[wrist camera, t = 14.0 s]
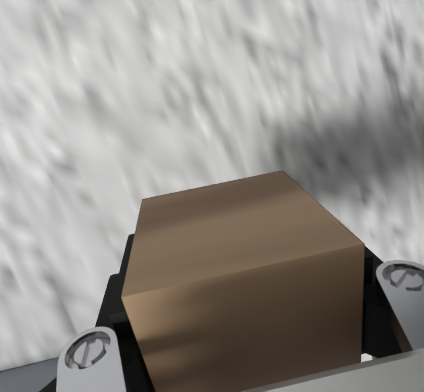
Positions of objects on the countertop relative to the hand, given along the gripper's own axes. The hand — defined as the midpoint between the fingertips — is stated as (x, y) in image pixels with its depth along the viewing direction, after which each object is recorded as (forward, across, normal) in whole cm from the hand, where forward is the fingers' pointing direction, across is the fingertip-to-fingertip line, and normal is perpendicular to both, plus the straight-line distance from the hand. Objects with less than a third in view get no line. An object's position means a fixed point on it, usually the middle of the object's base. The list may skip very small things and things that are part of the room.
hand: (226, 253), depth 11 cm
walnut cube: (+1, 0, 0) cm, 1 cm away
